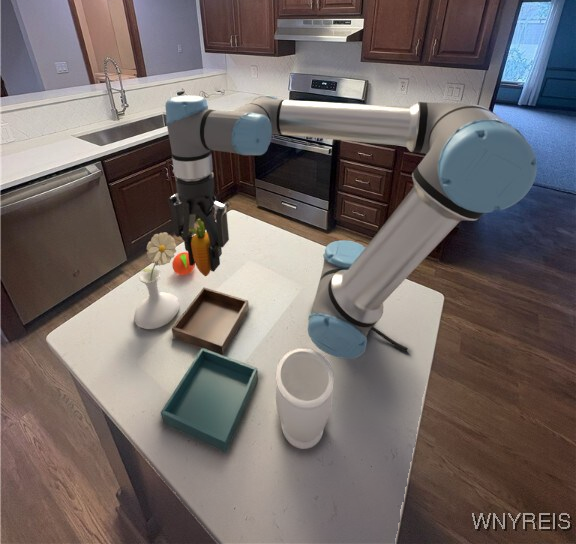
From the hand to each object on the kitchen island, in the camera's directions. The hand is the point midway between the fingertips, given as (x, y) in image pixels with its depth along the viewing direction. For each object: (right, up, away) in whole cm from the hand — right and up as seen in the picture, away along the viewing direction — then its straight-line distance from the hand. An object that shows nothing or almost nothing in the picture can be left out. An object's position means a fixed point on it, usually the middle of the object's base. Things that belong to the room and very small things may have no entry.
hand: (204, 264), depth 72 cm
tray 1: (-1, -19, +11) cm, 22 cm away
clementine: (-13, -12, +27) cm, 33 cm away
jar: (+22, -28, -10) cm, 37 cm away
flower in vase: (-16, -18, +13) cm, 27 cm away
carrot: (0, -3, +1) cm, 4 cm away
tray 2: (+3, -26, -6) cm, 27 cm away
